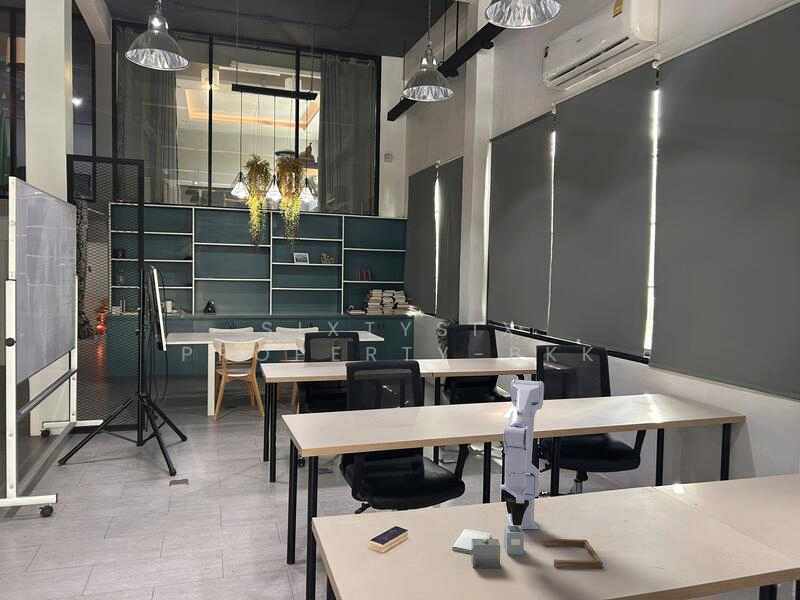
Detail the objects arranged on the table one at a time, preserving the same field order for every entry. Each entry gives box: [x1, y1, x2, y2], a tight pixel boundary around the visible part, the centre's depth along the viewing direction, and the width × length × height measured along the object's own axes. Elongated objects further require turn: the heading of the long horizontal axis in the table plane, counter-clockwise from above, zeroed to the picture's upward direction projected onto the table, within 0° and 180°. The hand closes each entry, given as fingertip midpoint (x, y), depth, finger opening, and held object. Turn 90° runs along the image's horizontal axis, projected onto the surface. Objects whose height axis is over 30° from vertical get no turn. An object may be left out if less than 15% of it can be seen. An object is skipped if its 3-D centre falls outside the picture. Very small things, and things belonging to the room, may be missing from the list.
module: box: [503, 525, 525, 555], centre depth 157 cm, size 5×4×6 cm
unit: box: [470, 538, 501, 569], centre depth 149 cm, size 4×7×7 cm, turn 90°
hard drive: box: [451, 528, 492, 555], centre depth 161 cm, size 2×8×12 cm
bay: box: [541, 538, 604, 569], centre depth 154 cm, size 13×12×2 cm
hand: (514, 518), depth 157 cm, fingers open, 7 cm apart
